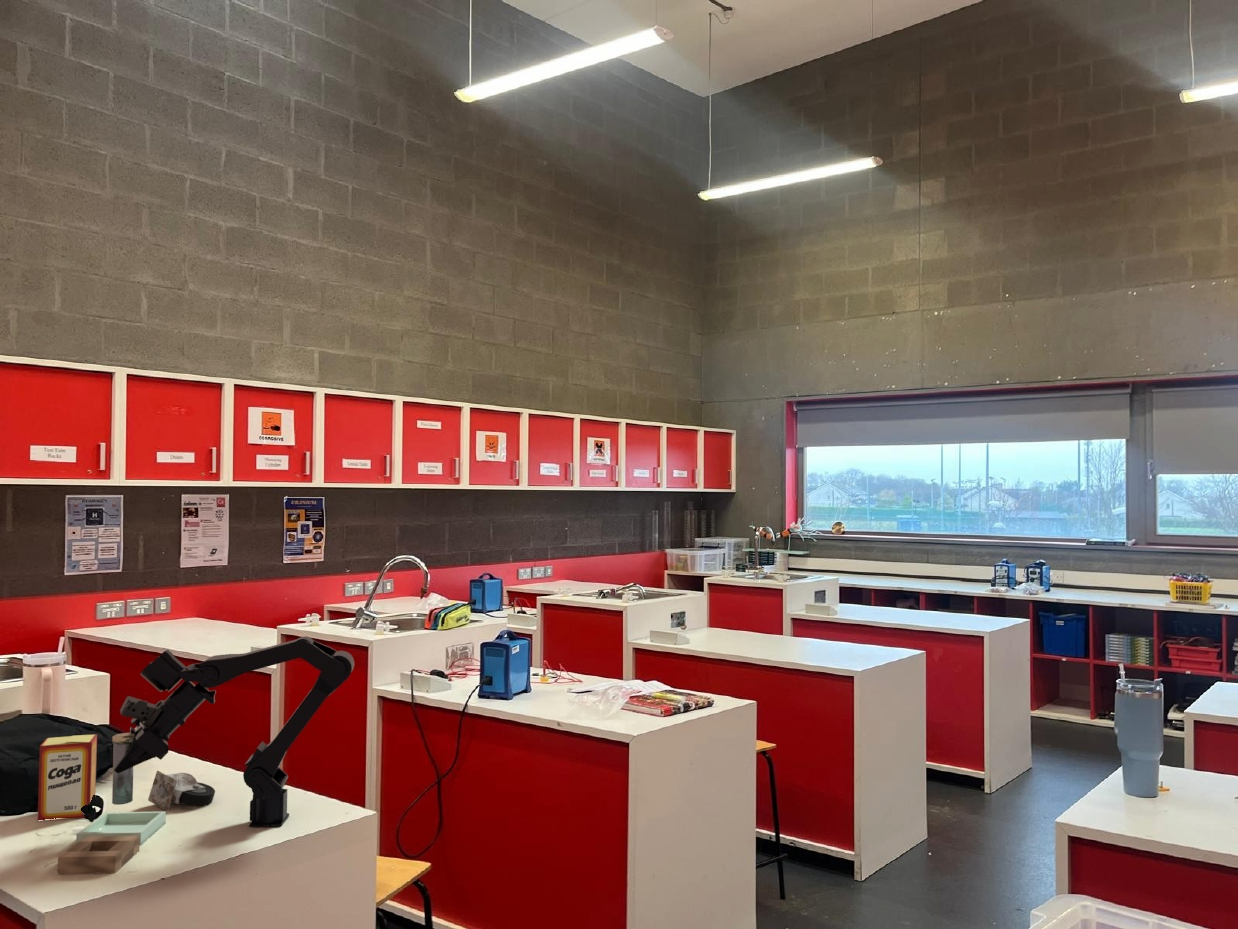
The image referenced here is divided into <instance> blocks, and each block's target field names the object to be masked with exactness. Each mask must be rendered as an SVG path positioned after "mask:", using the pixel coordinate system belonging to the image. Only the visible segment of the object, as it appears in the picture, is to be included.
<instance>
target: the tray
mask: <svg viewBox="0 0 1238 929" xmlns="http://www.w3.org/2000/svg"><path fill="white" fill-rule="evenodd" d="M166 820H167V811H166V810H164V811H163V810H162V811H117V812H116V811H113V812H111V811H110V812H108V811H107V812H106V811H105V812H104V813H103V814H102V815H100V816H98V817H97V818H96V819H95V820H92V822H91V823H90V824H88V825H87V826H85V827H84V828H83V829H81V830H79V831H78V832H77V833H76V835H75V836H76V837H75V839H76V840H75V842H76V843H77V842H79V841H80V840H81V839H83V838H84V837H92V836H140V843H139V845H141V846H142V845H143V844H144V843H145V842H147V839H148V838H149V839H150V838H151V837H152V836H153V835H154V834H156V833H157V832H158V831H159V830H160V829H161V828H162V827H164V826H165V825H166V823H167V822H166ZM100 828H102V829H101V830H99V829H100ZM155 832H156V833H155ZM149 839H148V840H149ZM76 843H75V844H76Z"/></svg>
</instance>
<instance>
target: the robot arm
mask: <svg viewBox="0 0 1238 929" xmlns="http://www.w3.org/2000/svg"><path fill="white" fill-rule="evenodd" d="M297 659H302V660H304V661H305V662H306V663H308V664H309V665H310V666H312V668H313V667H314V668H315V669H316V670H318V671H320V673H319V674H318V677H317V678H316V681H315V683H314V685H313V687H312V688H311V690H310V691H309V692H308V693H307V695H306V696H305V697H304V699H303V700H302V701H301V702H300V704H299V705H298V707H297V708H296V709H295V711H294V712H293V713H292V715H291V716H290V717H289V718H288V720H287V721H286V723H285V724H284V725H283V726H282V728H281V730H280V731H279V732H278V733H277V735H276V736H275V738H274V739H273V740H272V741H270V742H269V743H268V744H267V743H265V742H264V741H261V743H260V744H259V745H258V746H257V747H256V749H255V751H254V753H252V754H251V755H250V756H249V757H248V759H247V760H246V762H245V764H244V767H246V768H245V769H244V771H243V775H242V776H243V777H242V778H243V781H244V783H245V785H246V786H247V787H248V788H250V789H251V792H252V799H251V800H250V801H249V821H250V822H249V826H248V827H251V828H252V827H255V828H256V827H257V828H258V827H281V826H283V824H284V823H285V822H286V821H287V819H288V818H289V817H290V813H288V788H284V787H285V785H286V784H287V780H288V778H289V775H288V774H287V773H286V772H285V771H284V770H283V769H282V768H281V767H280V766H281V763H282V762H283V760H284V758H285V756H286V753H288V752H287V751H288V750H289V748H290V747H291V746H292V745H293V743H294V742H295V740H297V738H298V736H299V735H300V734H301V733H302V732H303V730H304V728H305V727H306V726H307V725H308V723H309V722H310V721H311V719H312V718H313V717H314V715H315V714H316V713H317V711H318V710H319V709H320V707H321V706H322V704H323V703H324V702H325V701H326V700H327V698H328V697H329V696H330V695H332V694H333V693H334V692H335V691H336V690H337V689H338V688H339V687H341V685H343V684H344V683H345V682H346V681H347V680H348V679H349V678H350V676H351V673H352V672H353V670H354V667H355V660H354V657H353V655H352V654H351V653H350V652H348V651H345V650H336V649H334V648H332V647H330V646H329V645H325V644H323V643H321V642H319V641H316V640H315V639H313V638H311V637H310V636H300V637H299V638H297V639H293V640H289V641H286V642H281V643H278V644H274V645H271V646H267V647H264V648H263V647H262V648H260V649H256V650H252V651H248V652H243V653H226V654H216V655H212V656H210V657H207V659H205V660H204V661H203V662H198V663H192V664H189V665H188V666H186V665H185V664H184V663H182V662H181V661H180V660H179V659H178V658H177V657H176V656H175V655H174V654H173V652H172V651H171V650H169V649H166V650H164V651H163V652H162V653H160V655H158V656H157V657H156V658H155V659H153V661H151V662H149V663H148V664H147V665H146V666H145V667H144V668H143V670H142V669H141V672H140V673H139V675H140V676H141V677H142V678H143V679H145V680H146V681H147V682H148V683H149V684H150V685H152V686H153V687H154V688H155V689H156V690H158V692H160V693H162V692H165V691H167V692H168V693H169V692H170V691H172V690H173V689H174V688H175V687H176V686H177V685H178V684H179V683H180V682H181V680H183V682H181V684H180V685H179V686H178V687H177V688H176V689H175V690H174V691H173V692H171V694H169V696H167V698H166V699H165V700H163V699H162V700H159V701H157V703H156V704H154V703H151V702H148V701H147V700H142V699H141V698H137V697H133V696H130V695H129V696H128V695H127V696H126V698H125V700H124V702H123V704H122V706H121V707H120V710H119V712H120V715H121V716H123V717H126V718H132V719H131V720H130V723H131V725H133V726H134V725H135V726H136V727H135V728H133V726H130V728H129V730H130V731H129V733H134V734H135V736H134V735H133V736H132V746H131V748H130V749H129V750H128V752H127V753H126V754H125V756H124V757H123V758H122V760H121V761H120V762H119V764H118V765H117V766H116V768H115V769H114V771H115V772H117V773H121V772H123V771H125V770H127V769H129V768H131V767H133V768H134V767H135V766H138V765H140V764H142V763H144V762H147V761H149V760H152V759H153V758H154V759H156V758H158V759H159V760H160V761H161V760H162V759H164V757H165V756H166V755H168V753H169V743H168V741H169V740H170V738H171V737H170V736H171V735H172V734H173V733H174V732H175V731H176V730H177V729H178V728H179V727H183V725H184V724H186V720H187V718H188V717H189V716H190V715H191V714H192V713H193V712H194V711H196V710H197V708H198V707H199V706H200V705H201V704H202V703H203V702H205V700H206V701H207V702H208V703H209V704H211V705H214V704H215V702H216V698H215V696H216V694H217V691H216V690H209V689H214V688H216V687H218V686H220V685H223V684H225V683H227V682H230V681H231V680H234V679H235V678H237V677H239V676H241V675H243V674H246V673H249V672H253V671H257V670H260V669H263V668H267V667H271V666H273V665H274V666H275V665H278V664H281V663H285V662H290V661H293V660H297ZM194 683H196V684H194Z"/></svg>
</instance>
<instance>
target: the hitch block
mask: <svg viewBox="0 0 1238 929" xmlns="http://www.w3.org/2000/svg"><path fill="white" fill-rule="evenodd" d="M139 843H140V836H92V837H84V838H83V839H81V840H80V841H79V842H77V843H75V844H74V845H72V846H71V847H69V848H68V849H67V850H65V851H64V852H63V853H61V854H60V855H59V856H57V873H56V874H57V875H77V873H79V874H80V875H81V874H87V875H88V874H116V873H117V872H118V871H119V870H121V869H122V868H123V867H124V866H125V865H126V864H127V863H128V862H129V861H130V860H131V859H133V858H134V857H135V856H136V855H137V854H138V853H139V852H140V846H139ZM137 852H138V853H137ZM135 854H136V855H135ZM134 855H135V856H134ZM133 856H134V857H133ZM79 874H78V875H79Z"/></svg>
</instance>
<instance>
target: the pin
mask: <svg viewBox="0 0 1238 929" xmlns="http://www.w3.org/2000/svg"><path fill="white" fill-rule="evenodd" d="M133 735H134V736H135V734H134V733H130V732H124V733H123V732H122V733H117V734H114V735H113V736H112V741H111V742H112V743H113V749H112V750H113V752H112V754H113V755H112V756H113V757H112V758H113V759H112V796H111V800H112V802H111V804H113V805H115V806H116V805H119V806H120V805H126V804H129V803H131V802H133V801H134V800H133V798H134V797H133V794H134V766H133V767H131V768H129V769H127V770H125V771H123V772H121V773H117V772H115V771H114V769H115V768H116V766H117V765H118V764H119V762H120V761H121V760H122V758H123V757H124V756H125V754H126V753H127V752H128V750H129V749H130V748H131V746H132V736H133Z"/></svg>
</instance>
